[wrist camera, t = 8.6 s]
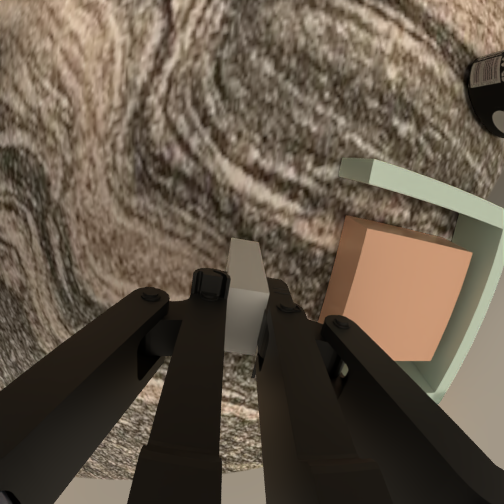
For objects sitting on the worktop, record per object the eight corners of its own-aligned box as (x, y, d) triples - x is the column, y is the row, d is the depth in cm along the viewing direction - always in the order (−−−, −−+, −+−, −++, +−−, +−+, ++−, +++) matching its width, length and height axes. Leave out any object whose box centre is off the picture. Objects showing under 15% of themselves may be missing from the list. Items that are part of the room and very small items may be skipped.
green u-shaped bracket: (289, 359, 22) (298, 405, 17) (342, 157, 18) (374, 158, 13) (413, 367, 23) (438, 404, 18) (473, 201, 19) (517, 215, 14)
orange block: (315, 325, 22) (328, 357, 18) (344, 214, 19) (367, 228, 16) (408, 333, 22) (430, 361, 18) (440, 236, 20) (472, 252, 16)
